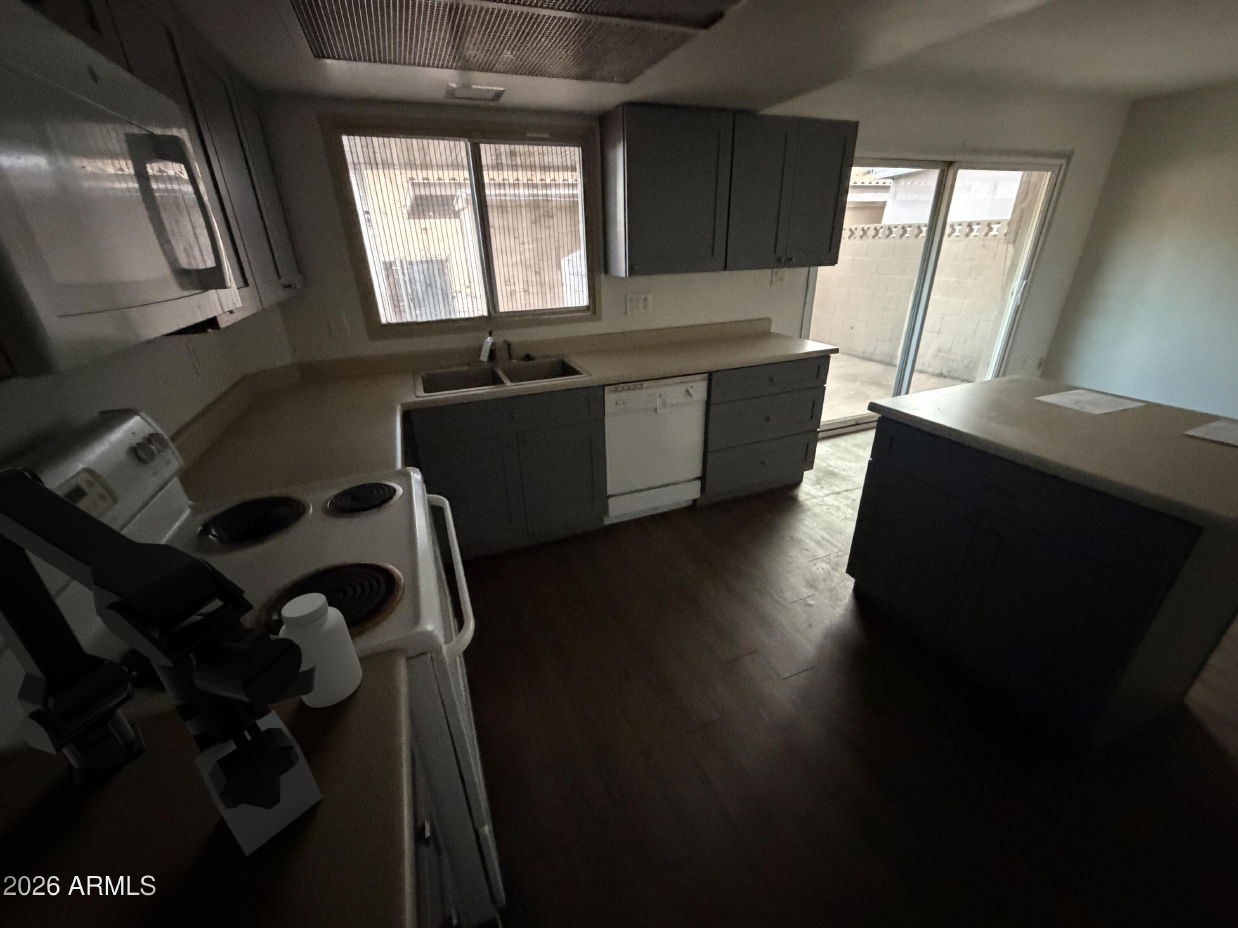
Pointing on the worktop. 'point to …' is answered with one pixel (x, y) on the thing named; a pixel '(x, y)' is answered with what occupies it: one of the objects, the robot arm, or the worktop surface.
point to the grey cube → (257, 822)
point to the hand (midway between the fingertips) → (259, 779)
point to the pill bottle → (323, 647)
